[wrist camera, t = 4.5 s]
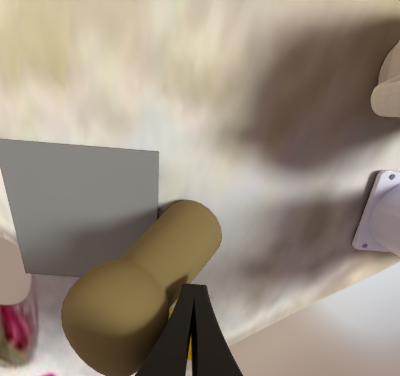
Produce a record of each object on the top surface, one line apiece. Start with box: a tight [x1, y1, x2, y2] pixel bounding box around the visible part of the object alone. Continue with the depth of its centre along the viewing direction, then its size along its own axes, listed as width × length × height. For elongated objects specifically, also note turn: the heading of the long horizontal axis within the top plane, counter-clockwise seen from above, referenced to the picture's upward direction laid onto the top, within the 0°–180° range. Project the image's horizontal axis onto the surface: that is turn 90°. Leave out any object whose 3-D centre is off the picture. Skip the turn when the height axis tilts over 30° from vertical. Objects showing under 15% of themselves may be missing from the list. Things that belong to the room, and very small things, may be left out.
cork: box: [61, 200, 222, 376], centre depth 13 cm, size 6×6×11 cm
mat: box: [0, 139, 159, 277], centre depth 19 cm, size 14×14×1 cm
